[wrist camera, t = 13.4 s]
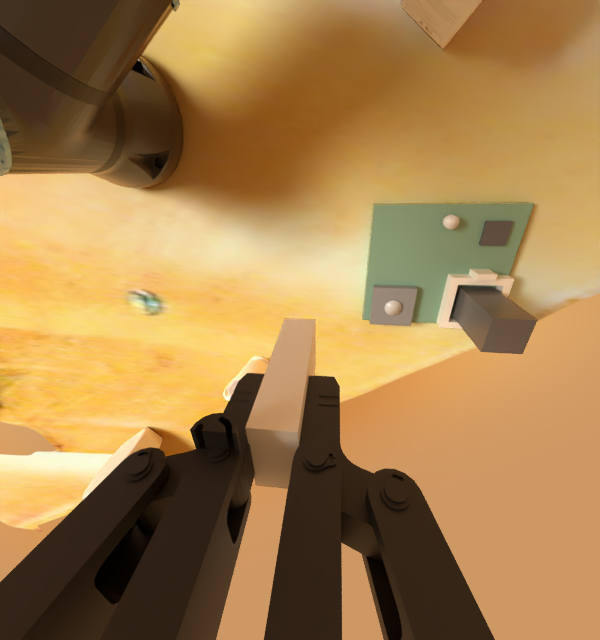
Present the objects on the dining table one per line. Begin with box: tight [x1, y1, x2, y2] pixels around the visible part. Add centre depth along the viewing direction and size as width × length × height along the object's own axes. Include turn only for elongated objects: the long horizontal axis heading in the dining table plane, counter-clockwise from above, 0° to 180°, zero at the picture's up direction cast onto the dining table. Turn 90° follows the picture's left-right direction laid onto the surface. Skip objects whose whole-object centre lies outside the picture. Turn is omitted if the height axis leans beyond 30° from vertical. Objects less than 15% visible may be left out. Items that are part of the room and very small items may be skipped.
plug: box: [451, 286, 537, 354], centre depth 36 cm, size 5×4×10 cm
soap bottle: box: [83, 427, 163, 500], centre depth 59 cm, size 16×5×20 cm, turn 131°
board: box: [362, 202, 534, 323], centre depth 38 cm, size 17×19×3 cm
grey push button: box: [369, 285, 418, 326], centre depth 41 cm, size 6×10×3 cm, turn 91°
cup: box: [223, 356, 269, 400], centre depth 49 cm, size 7×10×8 cm
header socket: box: [436, 269, 515, 329], centre depth 39 cm, size 9×8×2 cm
